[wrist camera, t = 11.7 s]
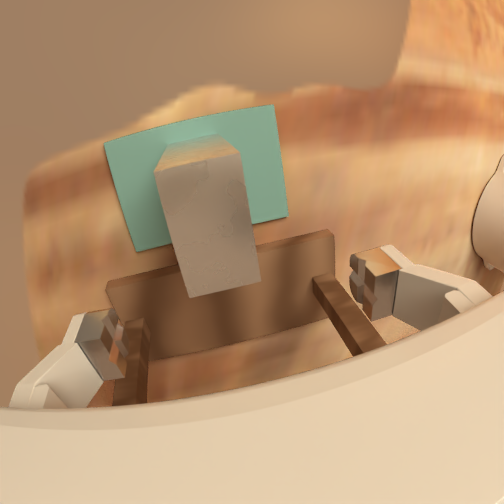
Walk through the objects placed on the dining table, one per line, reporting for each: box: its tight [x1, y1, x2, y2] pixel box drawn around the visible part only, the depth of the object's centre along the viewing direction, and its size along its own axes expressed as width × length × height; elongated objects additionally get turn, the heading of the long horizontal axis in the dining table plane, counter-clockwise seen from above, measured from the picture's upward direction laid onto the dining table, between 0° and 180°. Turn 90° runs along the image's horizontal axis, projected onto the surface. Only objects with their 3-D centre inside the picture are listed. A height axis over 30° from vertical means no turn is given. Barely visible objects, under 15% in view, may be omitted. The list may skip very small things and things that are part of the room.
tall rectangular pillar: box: [154, 133, 261, 298], centre depth 20 cm, size 4×7×11 cm, turn 8°
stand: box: [105, 229, 387, 406], centre depth 21 cm, size 22×10×22 cm, turn 99°
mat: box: [104, 105, 289, 252], centre depth 25 cm, size 14×10×1 cm
